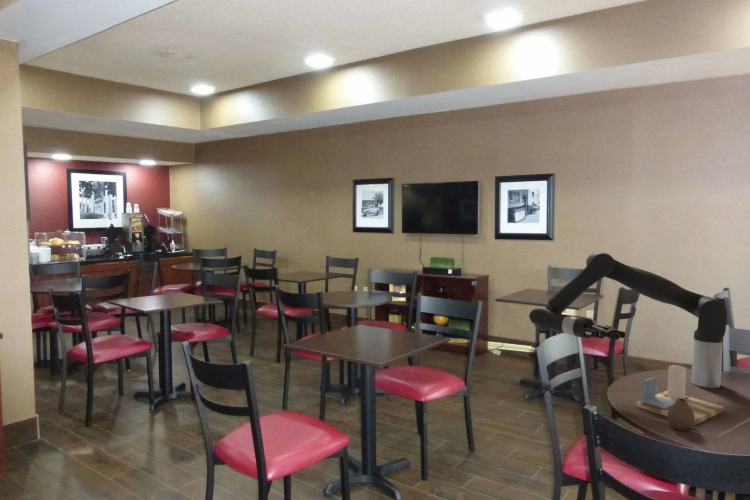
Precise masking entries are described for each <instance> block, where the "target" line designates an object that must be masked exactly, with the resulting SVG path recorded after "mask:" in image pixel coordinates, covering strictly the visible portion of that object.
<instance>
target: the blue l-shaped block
mask: <svg viewBox="0 0 750 500" xmlns="http://www.w3.org/2000/svg"><path fill="white" fill-rule="evenodd" d="M656 380H657V377H654V376H651V377H648V378H644V379H642V395H641V399H640V400H639V401H640V402H643V403H646V404H649V405H653V406H656V407H659V408H662V409H668V408H670V406H671V405H672V404H673V403H675V402H674V401H671V400H667V399H664V398H661V397H657V396H655V395H656V383H657V381H656Z"/></svg>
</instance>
